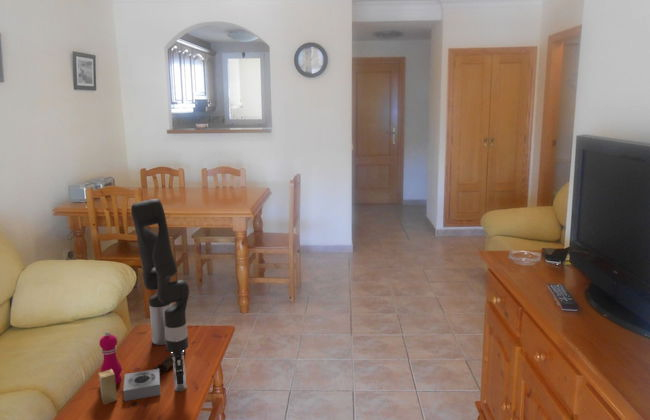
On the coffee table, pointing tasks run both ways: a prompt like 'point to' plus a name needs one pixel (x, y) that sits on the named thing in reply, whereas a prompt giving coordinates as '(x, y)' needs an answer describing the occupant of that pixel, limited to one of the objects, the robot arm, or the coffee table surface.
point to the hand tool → (166, 364)
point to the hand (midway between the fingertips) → (179, 378)
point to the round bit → (177, 387)
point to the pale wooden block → (108, 386)
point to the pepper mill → (110, 355)
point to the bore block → (141, 384)
